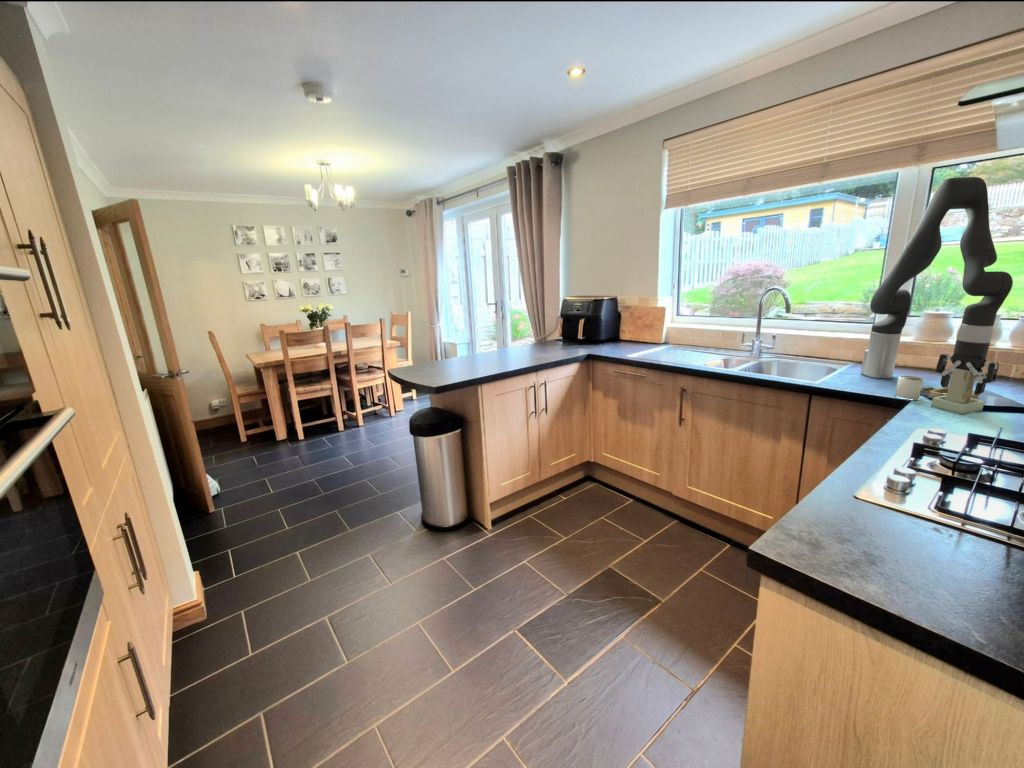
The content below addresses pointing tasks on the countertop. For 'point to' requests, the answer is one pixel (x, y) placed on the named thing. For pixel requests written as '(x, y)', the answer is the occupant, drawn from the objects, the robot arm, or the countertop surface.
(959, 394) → the skincare box
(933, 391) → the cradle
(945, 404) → the trough
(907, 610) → the countertop surface
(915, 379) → the cup
